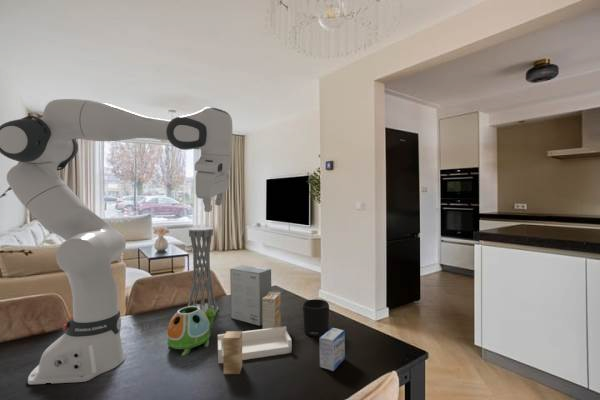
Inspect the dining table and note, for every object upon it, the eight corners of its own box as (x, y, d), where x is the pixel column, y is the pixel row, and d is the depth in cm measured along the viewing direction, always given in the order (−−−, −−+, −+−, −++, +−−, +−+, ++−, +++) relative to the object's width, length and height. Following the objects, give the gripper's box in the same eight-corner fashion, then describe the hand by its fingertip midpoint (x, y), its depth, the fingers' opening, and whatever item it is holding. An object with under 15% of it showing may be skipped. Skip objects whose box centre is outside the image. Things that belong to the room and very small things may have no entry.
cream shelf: (218, 363, 90) (218, 346, 90) (217, 350, 97) (217, 334, 97) (291, 352, 96) (291, 336, 96) (285, 340, 103) (285, 326, 103)
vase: (194, 304, 138) (193, 226, 138) (223, 306, 136) (222, 227, 136) (178, 316, 125) (177, 230, 124) (210, 318, 123) (209, 230, 122)
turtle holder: (228, 336, 107) (227, 302, 107) (184, 360, 92) (183, 320, 91) (203, 328, 114) (203, 296, 113) (158, 349, 98) (158, 312, 98)
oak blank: (223, 374, 84) (223, 337, 84) (226, 366, 88) (226, 331, 88) (239, 374, 84) (239, 337, 84) (242, 365, 88) (241, 331, 88)
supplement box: (275, 336, 107) (275, 298, 106) (262, 335, 108) (261, 298, 107) (281, 326, 115) (281, 291, 115) (269, 325, 116) (268, 290, 115)
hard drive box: (272, 319, 121) (272, 269, 121) (260, 326, 115) (259, 273, 114) (243, 311, 129) (242, 264, 129) (230, 318, 123) (229, 268, 123)
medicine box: (333, 372, 85) (333, 340, 85) (319, 367, 87) (319, 337, 87) (345, 359, 92) (345, 330, 92) (331, 355, 94) (331, 326, 94)
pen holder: (297, 331, 111) (297, 303, 111) (316, 323, 117) (316, 297, 117) (315, 340, 104) (315, 310, 104) (334, 332, 110) (334, 304, 110)
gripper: (216, 160, 104) (214, 200, 106) (191, 164, 84) (190, 214, 86) (235, 162, 103) (232, 202, 106) (214, 167, 83) (212, 216, 86)
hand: (213, 208), depth 96 cm, fingers open, 8 cm apart
